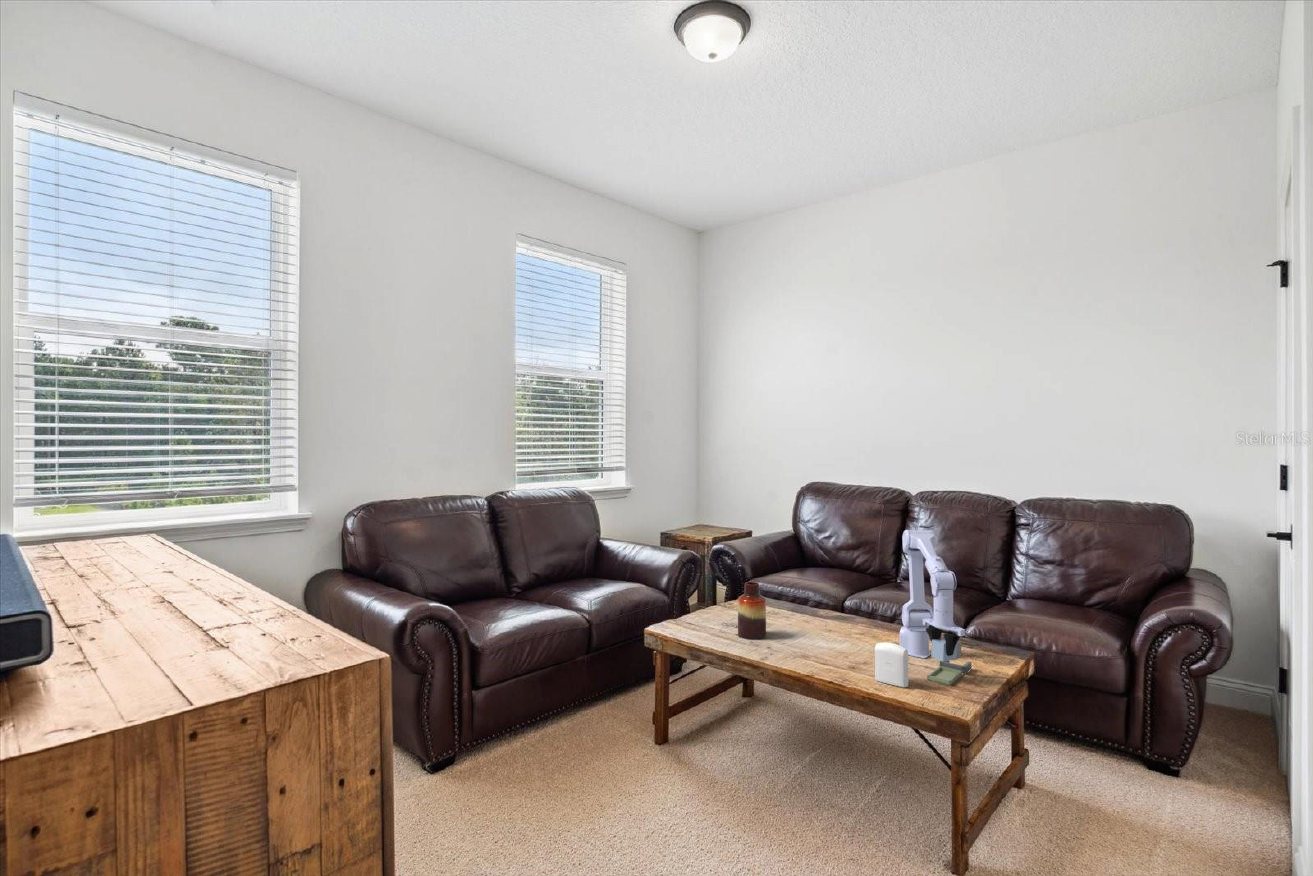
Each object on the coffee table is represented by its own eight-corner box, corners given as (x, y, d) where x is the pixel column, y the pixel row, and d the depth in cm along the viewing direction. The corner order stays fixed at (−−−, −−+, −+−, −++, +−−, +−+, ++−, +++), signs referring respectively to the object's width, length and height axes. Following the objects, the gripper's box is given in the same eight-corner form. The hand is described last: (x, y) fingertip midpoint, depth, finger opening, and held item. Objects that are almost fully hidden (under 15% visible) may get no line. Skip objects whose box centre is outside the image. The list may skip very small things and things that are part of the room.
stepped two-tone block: (931, 657, 210) (932, 639, 210) (950, 654, 214) (951, 637, 214) (943, 661, 206) (943, 643, 206) (962, 658, 210) (963, 641, 210)
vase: (765, 631, 260) (765, 580, 260) (767, 640, 249) (766, 586, 249) (737, 631, 261) (737, 579, 261) (738, 639, 250) (738, 586, 250)
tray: (927, 680, 208) (927, 675, 208) (939, 670, 217) (939, 666, 217) (950, 685, 204) (950, 681, 204) (962, 675, 212) (962, 671, 212)
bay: (939, 669, 218) (939, 661, 218) (946, 664, 223) (946, 656, 223) (965, 675, 213) (965, 667, 213) (971, 669, 218) (971, 662, 218)
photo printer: (872, 681, 208) (872, 641, 208) (878, 677, 211) (878, 638, 211) (904, 689, 201) (904, 649, 201) (910, 685, 204) (910, 645, 204)
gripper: (971, 614, 204) (971, 657, 204) (933, 603, 217) (933, 644, 217) (956, 616, 201) (956, 661, 201) (918, 605, 214) (918, 647, 214)
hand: (943, 652), depth 209 cm, fingers closed on stepped two-tone block, 4 cm apart
